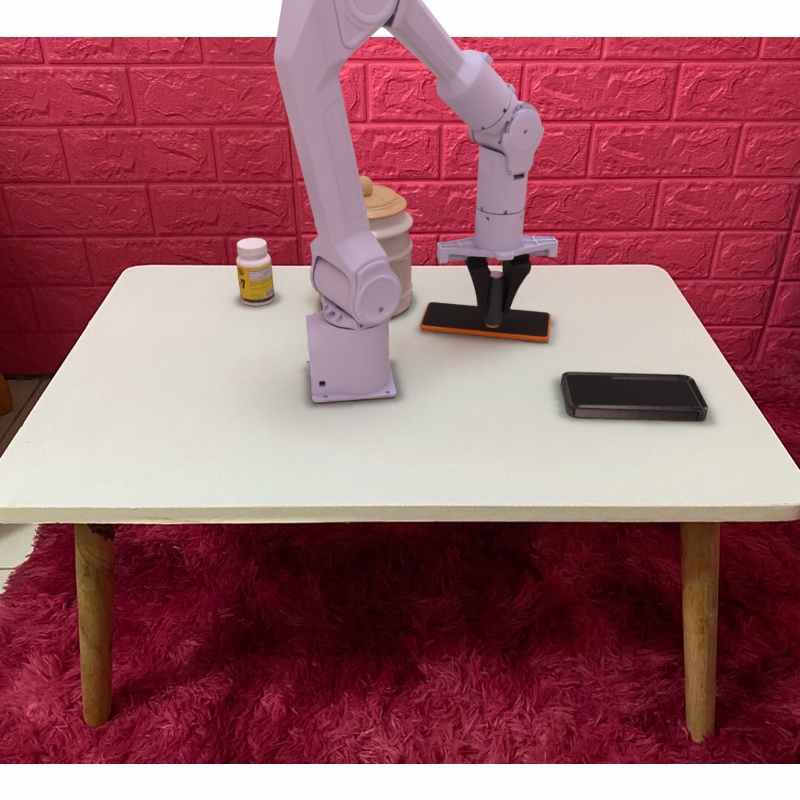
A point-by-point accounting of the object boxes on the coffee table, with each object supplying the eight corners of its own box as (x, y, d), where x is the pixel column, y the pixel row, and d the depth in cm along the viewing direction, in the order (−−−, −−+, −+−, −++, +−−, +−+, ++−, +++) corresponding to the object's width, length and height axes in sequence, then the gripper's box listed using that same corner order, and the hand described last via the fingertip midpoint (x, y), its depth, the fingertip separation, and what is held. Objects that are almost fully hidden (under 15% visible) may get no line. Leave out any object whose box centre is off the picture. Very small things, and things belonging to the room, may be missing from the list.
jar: (312, 288, 112) (303, 165, 102) (398, 278, 114) (398, 158, 105) (329, 328, 101) (321, 196, 91) (424, 316, 104) (426, 187, 94)
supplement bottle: (238, 294, 110) (231, 238, 105) (271, 290, 111) (266, 234, 106) (243, 308, 106) (236, 251, 101) (277, 304, 107) (272, 247, 103)
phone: (710, 412, 82) (569, 408, 83) (708, 421, 83) (568, 416, 84) (691, 374, 89) (560, 370, 90) (689, 382, 90) (559, 378, 90)
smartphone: (548, 343, 97) (549, 337, 97) (418, 331, 100) (418, 325, 100) (550, 316, 104) (551, 310, 103) (428, 305, 106) (428, 300, 106)
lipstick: (485, 329, 97) (488, 278, 94) (481, 320, 99) (484, 270, 96) (503, 328, 98) (507, 277, 94) (499, 319, 100) (502, 269, 96)
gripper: (445, 221, 86) (442, 329, 93) (571, 215, 88) (558, 321, 95) (434, 200, 92) (432, 304, 99) (552, 195, 93) (541, 297, 101)
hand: (492, 311), depth 98 cm, fingers closed on lipstick, 2 cm apart
